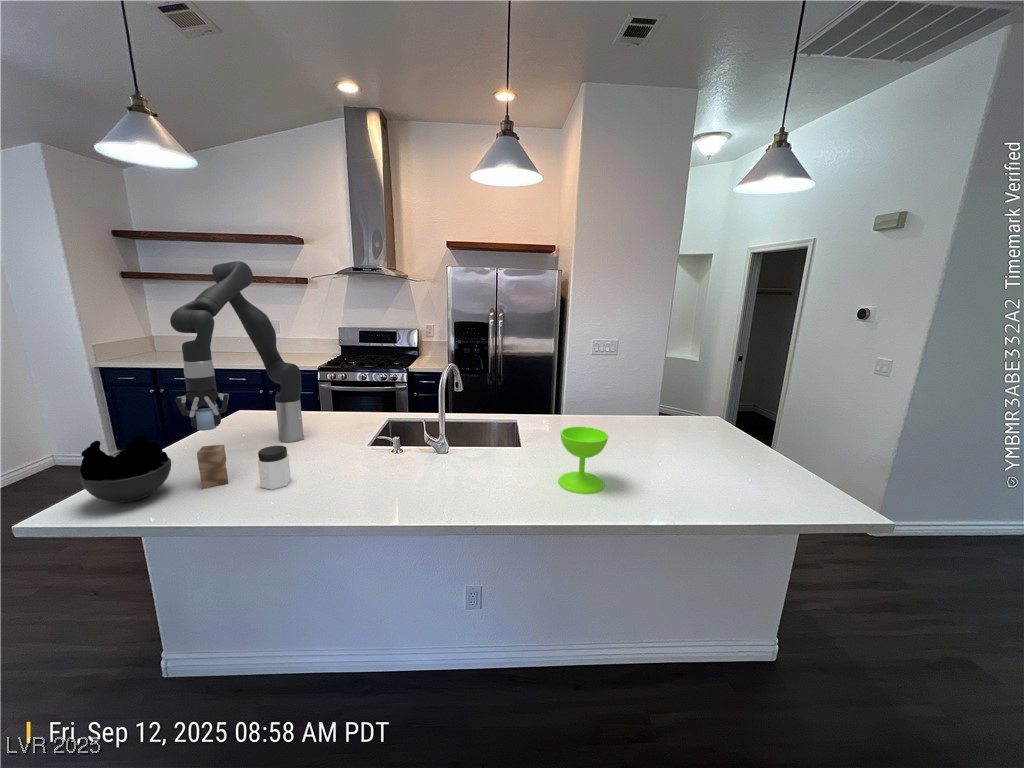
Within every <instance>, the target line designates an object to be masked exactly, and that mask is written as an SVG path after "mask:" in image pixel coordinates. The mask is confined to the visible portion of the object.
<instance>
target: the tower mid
mask: <svg viewBox="0 0 1024 768" xmlns="http://www.w3.org/2000/svg"><path fill="white" fill-rule="evenodd" d="M225 448H226V447H225V444H215V445H213V444H212V445H204V446H201V447H200V449H199V450H198V451H197V452H196V457H197V463H198V469H199V470H198V471H199V472H200V470H210V469H219V468H222V467H223V465H224V464H225V463H226V462H227V457H226V456H227V455H226V449H225Z"/></svg>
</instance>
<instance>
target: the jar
mask: <svg viewBox="0 0 1024 768" xmlns="http://www.w3.org/2000/svg"><path fill="white" fill-rule="evenodd" d="M287 448H288V447H286V446H284V445H271V446H267V447H263V448H261V449H260V450H258V453H257V454H258V455H257V457H258V460H257V468H258V474H259V482H260V483H259V484H260V488H261V489H266V490H271V491H273V490H276V489H280V488H283V487H286V486H288V485H289V483H290V482H291V480H292V477H291V476H292V475H291V466H290V456H289V453H288V449H287Z"/></svg>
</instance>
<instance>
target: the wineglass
mask: <svg viewBox="0 0 1024 768" xmlns="http://www.w3.org/2000/svg"><path fill="white" fill-rule="evenodd" d="M608 439H609V434H607V433H606V432H605V431H603V430H601V429H598V428H593V427H589V426H588V427H587V426H570V427H565V428H563V429H561V431H560V440H561V443H562V446H563V447H564V448H565V450H566V451H567V452H568V453H569V454H571V455H572V456H574V457H577V458H579V465H578V471H570V472H566V473H562V474H561V475H560V476H559V478H558V479H557V484H558V486H559V487H560V488H561V489H563V490H565V491H567V492H570V493H575V494H579V495H593V494H598V493H599V492H601V491H603V490H604V488H605V484H604V481H603V480H602V479H601V478H600V477H599V476H597V475H596V474H592V473H590V472H586V471H585V469H586V467H585V466H586V459H589V458H593V457H595V456H597V455H599V454H601V452H602V451H603V450H604V448H605V447H606V445H607V443H608Z"/></svg>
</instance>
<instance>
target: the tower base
mask: <svg viewBox="0 0 1024 768" xmlns="http://www.w3.org/2000/svg"><path fill="white" fill-rule="evenodd" d="M227 470H228V469H227V463H226V462H225V464H224V465H223V467H222V468H219V469H210V470H200V471H199V477H200V484H201V490H205V489H211V488H216V487H220V486H225V485H229V477H228V471H227Z"/></svg>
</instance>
